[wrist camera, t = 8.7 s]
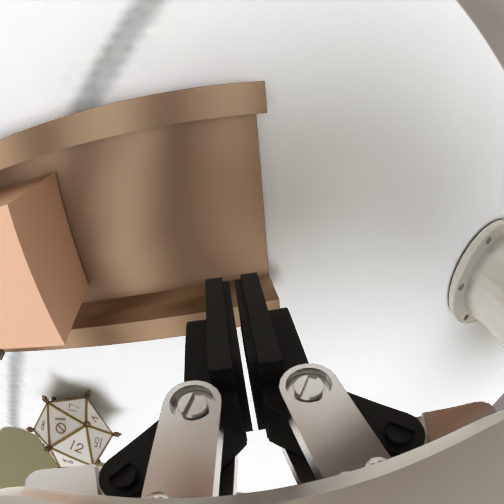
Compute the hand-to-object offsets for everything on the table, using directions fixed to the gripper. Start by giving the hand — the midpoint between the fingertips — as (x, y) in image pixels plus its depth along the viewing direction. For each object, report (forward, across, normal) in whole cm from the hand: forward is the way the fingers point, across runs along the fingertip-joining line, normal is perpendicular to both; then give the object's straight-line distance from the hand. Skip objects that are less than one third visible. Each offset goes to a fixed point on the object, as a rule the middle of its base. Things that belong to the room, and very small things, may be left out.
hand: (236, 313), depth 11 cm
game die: (+11, +17, +18) cm, 27 cm away
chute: (+11, +8, 0) cm, 14 cm away
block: (+9, +13, 0) cm, 16 cm away
